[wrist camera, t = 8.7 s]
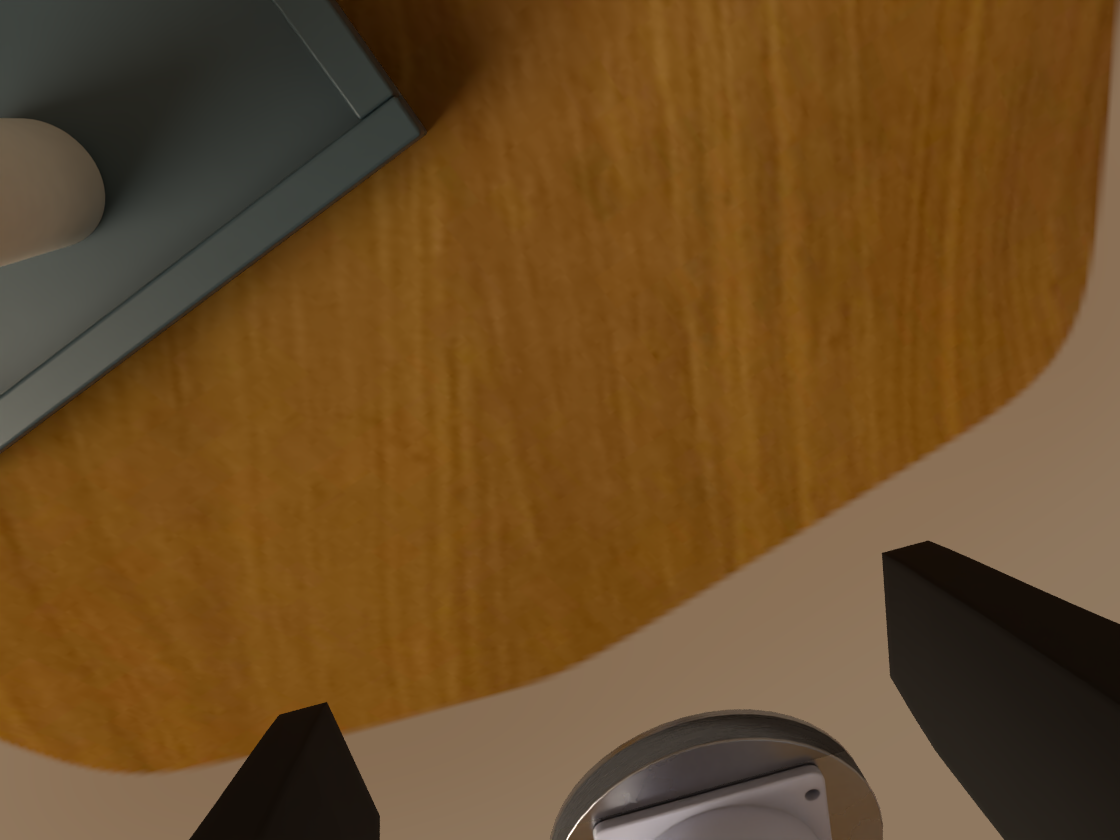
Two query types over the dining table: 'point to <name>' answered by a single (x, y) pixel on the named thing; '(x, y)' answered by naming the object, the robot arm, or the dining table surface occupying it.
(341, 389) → the dining table surface
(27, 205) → the glue stick
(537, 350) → the dining table surface
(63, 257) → the desk tray
